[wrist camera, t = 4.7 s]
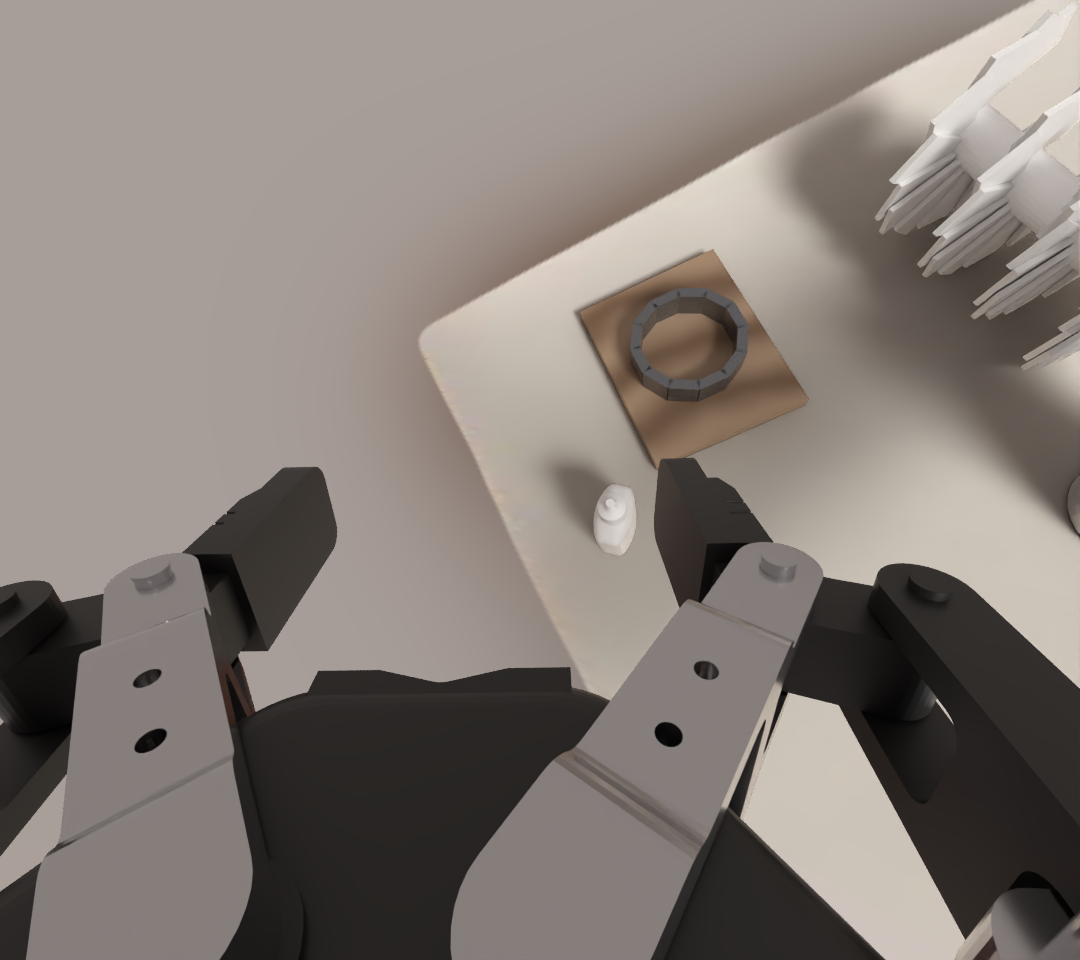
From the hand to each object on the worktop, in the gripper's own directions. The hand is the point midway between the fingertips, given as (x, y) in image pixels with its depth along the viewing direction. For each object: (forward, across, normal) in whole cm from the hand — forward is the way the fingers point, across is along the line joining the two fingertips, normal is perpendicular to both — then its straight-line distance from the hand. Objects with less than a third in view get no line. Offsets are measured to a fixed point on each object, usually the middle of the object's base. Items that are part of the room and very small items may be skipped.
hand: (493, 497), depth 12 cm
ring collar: (+43, +16, -7) cm, 46 cm away
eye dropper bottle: (+33, +8, -22) cm, 40 cm away
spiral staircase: (+43, +46, -1) cm, 63 cm away
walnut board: (+44, +16, -8) cm, 47 cm away
